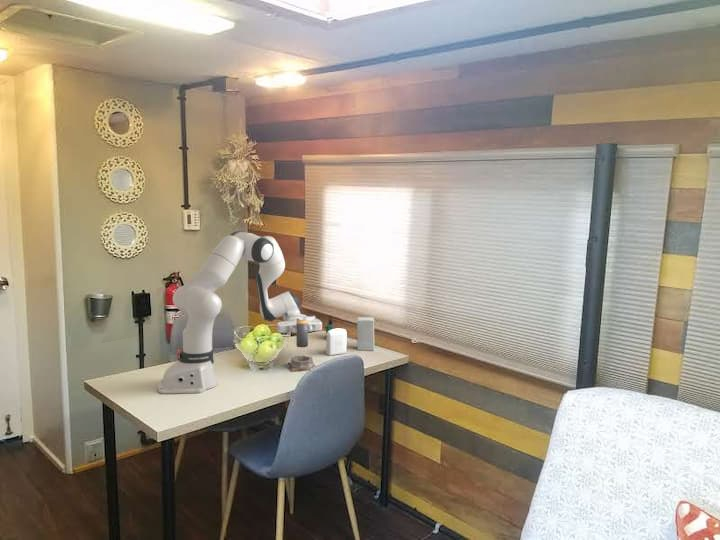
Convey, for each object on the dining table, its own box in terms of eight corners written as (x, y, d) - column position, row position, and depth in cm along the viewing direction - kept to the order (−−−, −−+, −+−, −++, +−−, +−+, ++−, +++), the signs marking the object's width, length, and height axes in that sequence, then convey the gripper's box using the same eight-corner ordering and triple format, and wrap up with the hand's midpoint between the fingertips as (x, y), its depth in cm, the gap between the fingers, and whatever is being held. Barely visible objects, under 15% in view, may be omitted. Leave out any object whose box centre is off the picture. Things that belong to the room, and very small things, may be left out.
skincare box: (374, 347, 273) (375, 316, 271) (373, 351, 266) (374, 319, 264) (357, 346, 274) (358, 316, 272) (356, 350, 267) (356, 319, 265)
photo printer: (343, 351, 266) (343, 326, 264) (347, 353, 263) (348, 328, 261) (324, 354, 260) (325, 329, 259) (329, 356, 257) (329, 330, 255)
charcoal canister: (297, 347, 236) (297, 323, 234) (295, 344, 241) (295, 320, 239) (308, 346, 238) (309, 322, 236) (306, 343, 242) (306, 319, 240)
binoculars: (345, 322, 284) (326, 321, 282) (343, 342, 285) (324, 340, 284) (344, 318, 292) (325, 317, 291) (341, 337, 294) (323, 336, 293)
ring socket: (291, 371, 234) (291, 363, 233) (287, 364, 244) (287, 356, 243) (316, 369, 237) (316, 361, 236) (311, 362, 247) (311, 354, 247)
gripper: (273, 317, 247) (278, 324, 234) (317, 315, 253) (325, 322, 240) (274, 331, 248) (278, 339, 235) (317, 328, 254) (324, 336, 241)
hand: (302, 330), depth 237 cm, fingers closed on charcoal canister, 5 cm apart
